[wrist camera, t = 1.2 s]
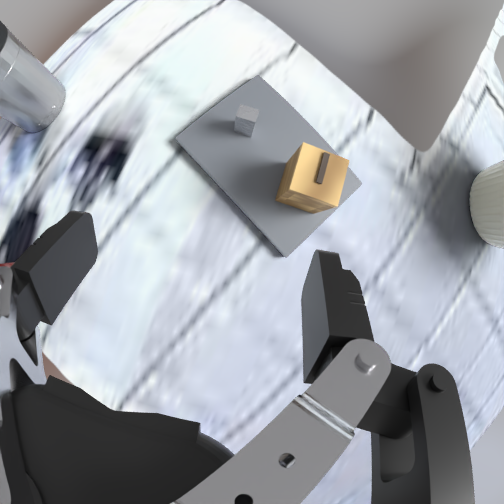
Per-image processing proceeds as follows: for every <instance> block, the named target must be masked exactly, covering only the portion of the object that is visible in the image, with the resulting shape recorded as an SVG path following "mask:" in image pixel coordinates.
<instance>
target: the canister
mask: <svg viewBox="0 0 504 504" xmlns="http://www.w3.org/2000/svg"><path fill="white" fill-rule="evenodd" d="M469 200H470V204H469V205H470V211H471V217H472V221H473V223H474V226H475V228H476V231H477V232H478V234H479V235H480V236H481V238H482V239H483V240H485V242H487V243H488V244H490V245H492V246H495V247H499V248H503V249H504V160H503V161H501V162H499V163H497V164H494V165H492V166H490V167H488V168H486V169H484V170H483V171H481V172H480V173H479V174H478V175H477V177H476V178H475V179H474V182H473V183H472V187H471V192H470V199H469Z"/></svg>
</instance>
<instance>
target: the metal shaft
mask: <svg viewBox="0 0 504 504" xmlns="http://www.w3.org/2000/svg"><path fill="white" fill-rule="evenodd" d="M259 111H260V110H258V109H255V108H252V107H248V106H245V105H242V104H240V106H239V109H238V112H237V114H236V118H235V127H234V132H235V133H238V134H241V135H245V136H248V137H251V136H252V133H253V130H254V128H255V124H256V121H257V117H258V114H259Z"/></svg>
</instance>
